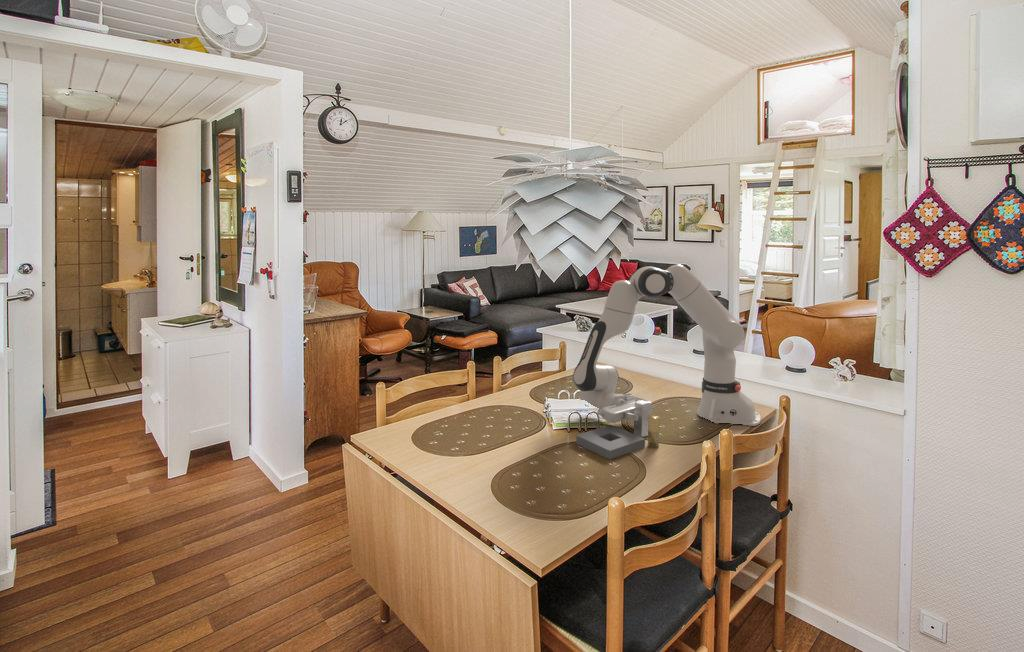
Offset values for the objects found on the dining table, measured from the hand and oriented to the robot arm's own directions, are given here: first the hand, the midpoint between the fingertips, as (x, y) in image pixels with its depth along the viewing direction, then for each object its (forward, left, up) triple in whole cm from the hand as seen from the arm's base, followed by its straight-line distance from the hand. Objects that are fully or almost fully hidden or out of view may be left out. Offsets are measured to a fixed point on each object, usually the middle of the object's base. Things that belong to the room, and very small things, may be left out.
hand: (643, 416), depth 196 cm
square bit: (+1, 0, -7) cm, 7 cm away
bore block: (+8, +13, -7) cm, 17 cm away
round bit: (-5, +8, -7) cm, 11 cm away
